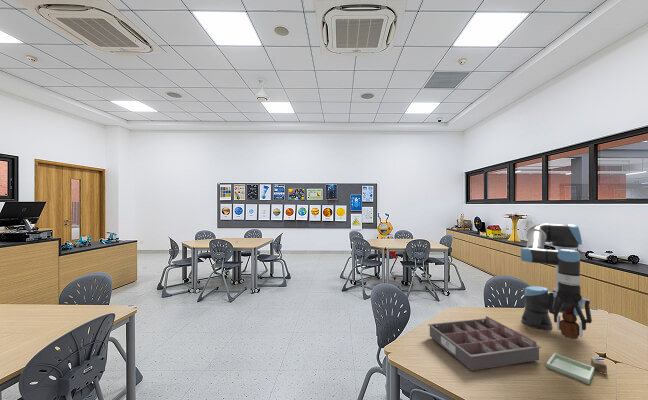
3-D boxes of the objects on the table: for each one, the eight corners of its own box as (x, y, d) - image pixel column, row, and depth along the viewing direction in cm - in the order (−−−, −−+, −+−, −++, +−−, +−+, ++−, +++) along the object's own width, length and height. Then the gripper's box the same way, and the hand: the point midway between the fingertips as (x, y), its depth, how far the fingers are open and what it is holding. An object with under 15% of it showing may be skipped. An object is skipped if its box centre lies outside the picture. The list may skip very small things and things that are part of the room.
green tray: (546, 367, 119) (546, 363, 119) (554, 356, 127) (554, 352, 127) (589, 384, 108) (589, 379, 108) (594, 371, 116) (594, 367, 116)
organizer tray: (427, 338, 145) (427, 320, 145) (486, 331, 153) (486, 314, 153) (470, 374, 114) (470, 352, 114) (542, 363, 122) (541, 342, 122)
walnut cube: (594, 371, 116) (594, 362, 116) (591, 366, 120) (591, 358, 120) (606, 374, 114) (606, 365, 114) (603, 369, 118) (603, 361, 118)
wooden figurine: (575, 335, 119) (574, 303, 120) (582, 341, 114) (582, 308, 114) (557, 333, 121) (556, 301, 122) (564, 339, 116) (563, 306, 116)
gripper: (539, 279, 124) (540, 326, 123) (598, 290, 108) (599, 345, 107) (543, 276, 128) (544, 322, 128) (601, 287, 112) (602, 339, 112)
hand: (569, 332), depth 118 cm, fingers closed on wooden figurine, 7 cm apart
